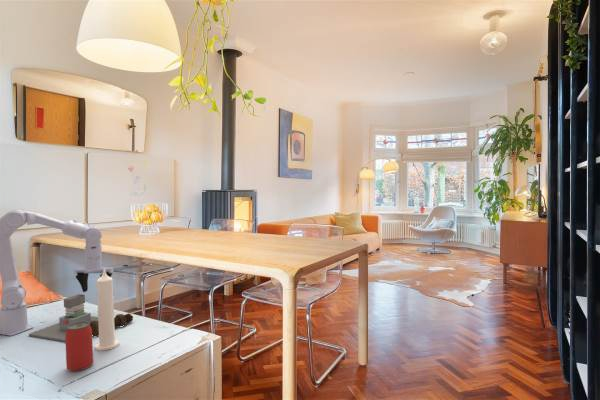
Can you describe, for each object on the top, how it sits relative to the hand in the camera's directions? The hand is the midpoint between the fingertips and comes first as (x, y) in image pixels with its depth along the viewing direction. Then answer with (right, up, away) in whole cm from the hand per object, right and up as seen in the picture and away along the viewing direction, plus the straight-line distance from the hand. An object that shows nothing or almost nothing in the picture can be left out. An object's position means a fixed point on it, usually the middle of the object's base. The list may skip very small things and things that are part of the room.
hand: (94, 291), depth 146 cm
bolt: (+14, -11, -13) cm, 22 cm away
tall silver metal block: (0, -7, -12) cm, 14 cm away
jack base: (0, -11, -12) cm, 16 cm away
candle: (+20, -11, -28) cm, 36 cm away
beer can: (+19, -12, -41) cm, 47 cm away
